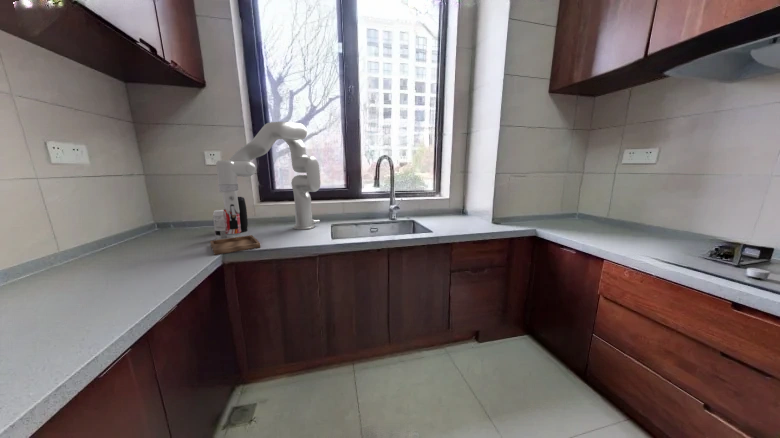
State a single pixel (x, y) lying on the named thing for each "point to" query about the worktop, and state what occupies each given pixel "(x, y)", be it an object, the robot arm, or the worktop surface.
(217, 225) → the supplement can
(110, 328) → the worktop surface
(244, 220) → the portable speaker
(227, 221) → the soda can
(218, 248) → the tray
